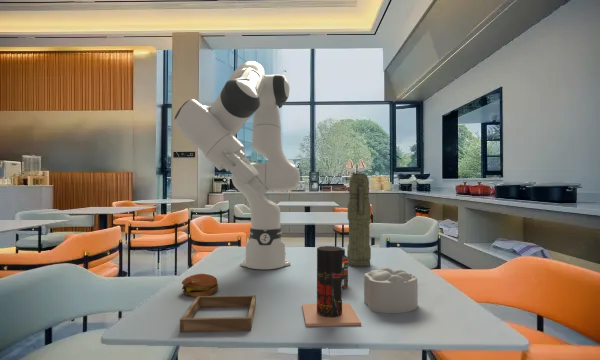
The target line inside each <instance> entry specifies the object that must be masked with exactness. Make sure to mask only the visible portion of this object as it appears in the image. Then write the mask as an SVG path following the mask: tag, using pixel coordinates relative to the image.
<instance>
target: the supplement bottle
mask: <svg viewBox="0 0 600 360" xmlns="http://www.w3.org/2000/svg"><path fill="white" fill-rule="evenodd" d="M341 248H342V289H345V288H347V287H348V286H349V265H348V257H347V255H346V249H345V248H343V247H341Z"/></svg>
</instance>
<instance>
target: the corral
mask: <svg viewBox="0 0 600 360" xmlns="http://www.w3.org/2000/svg"><path fill="white" fill-rule="evenodd" d="M256 305H257V295H251V294H250V295H245V294H244V295H209V296H197V297H195V299H194V300H193V302H192V303H191V304H190V306H189V307H188V308H187V310H185V312H184V313H183V315H182V316H181V318H180V319H179V332H180V333H193V332H194V333H195V332H196V333H197V332H199V333H200V332H235V331H237V332H239V331H240V332H241V331H242V332H243V331H244V332H245V331H252V327H253V323H254V316H255V311H256V307H257V306H256ZM235 307H236V308H241V307H242V308H243V307H244V308H245V307H249V311H248V315H247V316H236V317H235V316H234V317H233V316H231V317H228V316H227V317H195V315H197V313H198V311H199V309H200V308H235Z"/></svg>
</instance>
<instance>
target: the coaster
mask: <svg viewBox="0 0 600 360" xmlns="http://www.w3.org/2000/svg"><path fill="white" fill-rule="evenodd" d="M302 312H303V317H304V322H305V327H309V328H310V327H340V326H341V327H344V326H345V327H346V326H347V327H349V326H362V322H361V320H360V318H359V316H358V315H357V314H356V312H355V309H354V308H353V307H352V305H351V303H350V302H342V315H340V316H338V317H323V316H320V315H318V314H317V303H302Z"/></svg>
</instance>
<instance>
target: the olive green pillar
mask: <svg viewBox="0 0 600 360" xmlns="http://www.w3.org/2000/svg"><path fill="white" fill-rule="evenodd" d="M348 193H349V198H348V199H349V200H348V202H347V220H348V245H347V252H346V253H347V254H346V256H347V257H348V266H351V267H354V268H355V267H356V268H367V267H370V266H371V259H372V252H371V251H372V249H371V245H370V221H371V215H372V213H371V211H372V210H371V209H372V207H371V202H370V198H369V194H370V180H369V178H368V175H367V174H366V173H353V174H351V175H350V178H349V182H348Z"/></svg>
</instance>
